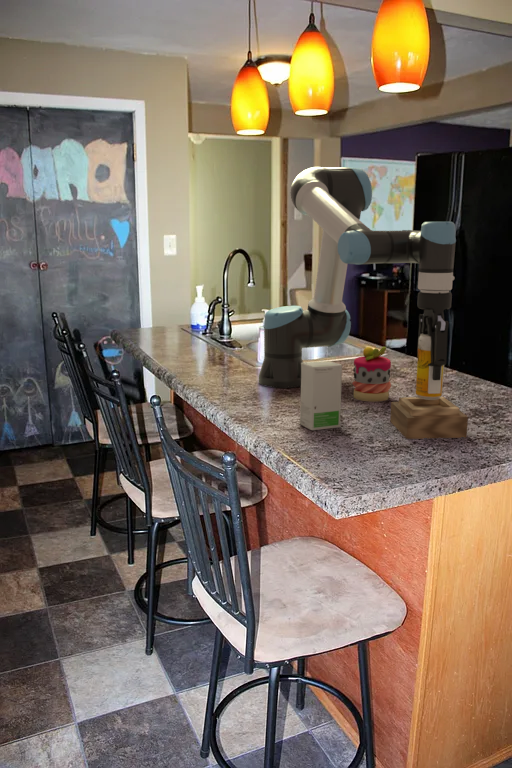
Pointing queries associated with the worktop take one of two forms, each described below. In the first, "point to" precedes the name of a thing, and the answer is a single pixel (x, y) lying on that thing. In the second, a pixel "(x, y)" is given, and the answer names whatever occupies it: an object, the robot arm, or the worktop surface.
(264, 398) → the worktop surface
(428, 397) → the beer can
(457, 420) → the stand
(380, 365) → the cake
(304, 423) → the skincare box
